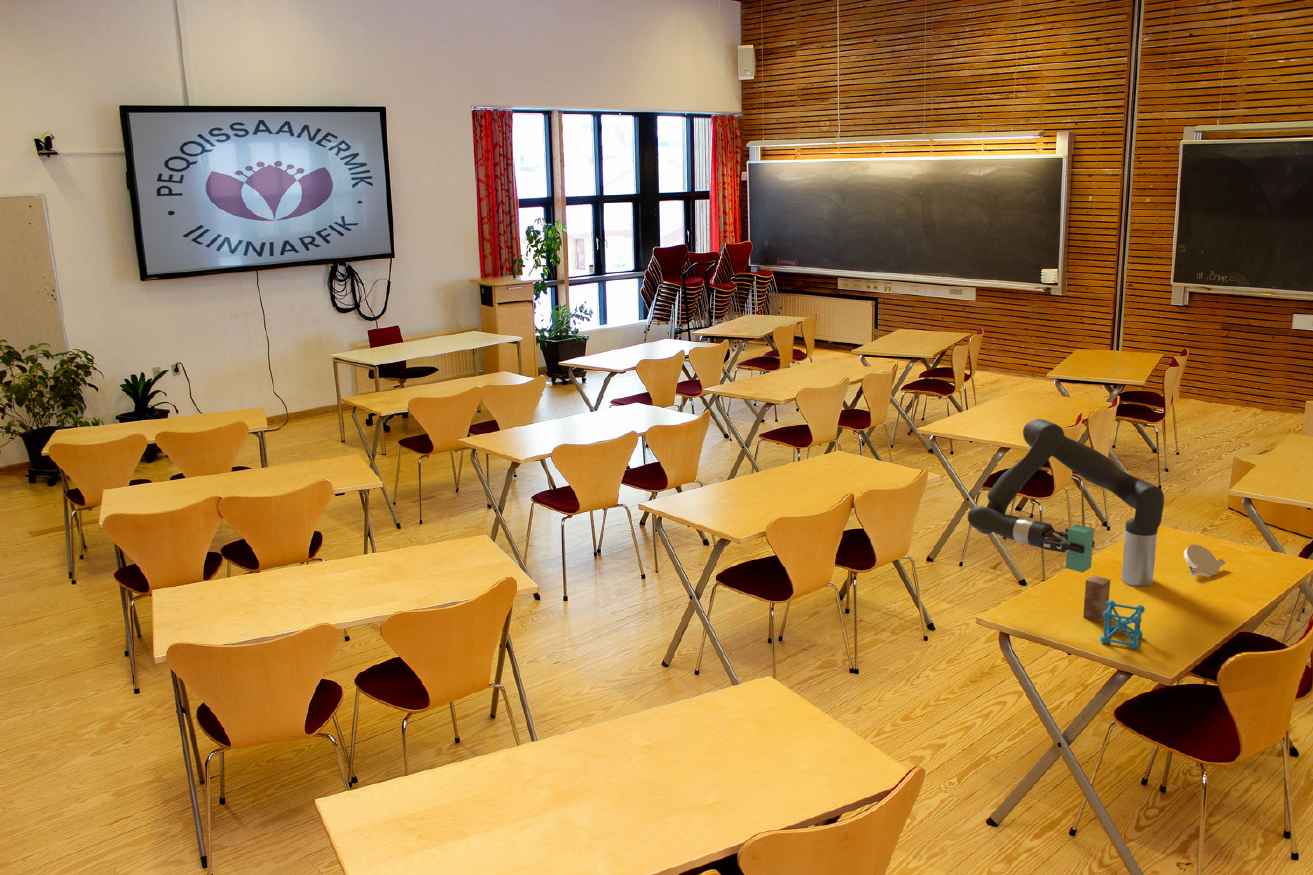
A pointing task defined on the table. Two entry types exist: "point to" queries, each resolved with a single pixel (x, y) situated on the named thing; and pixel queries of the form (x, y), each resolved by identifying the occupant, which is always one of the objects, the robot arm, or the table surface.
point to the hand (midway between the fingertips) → (1088, 547)
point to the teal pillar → (1081, 537)
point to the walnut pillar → (1096, 597)
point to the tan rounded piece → (1202, 561)
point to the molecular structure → (1122, 624)
